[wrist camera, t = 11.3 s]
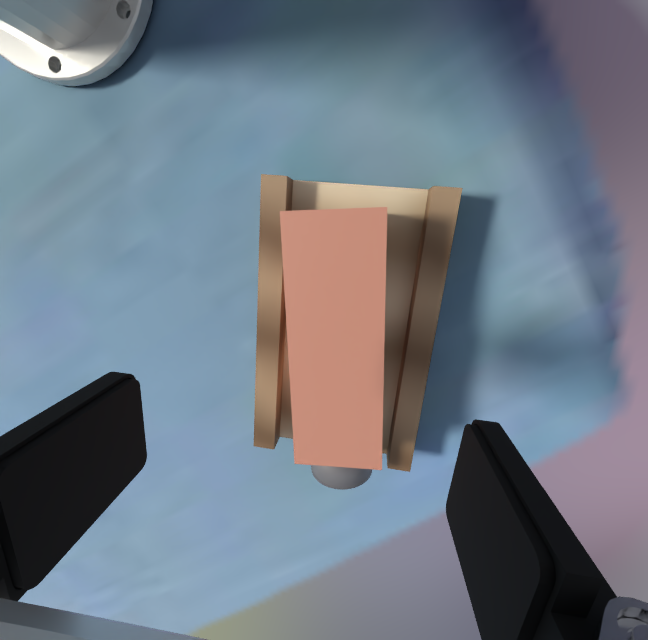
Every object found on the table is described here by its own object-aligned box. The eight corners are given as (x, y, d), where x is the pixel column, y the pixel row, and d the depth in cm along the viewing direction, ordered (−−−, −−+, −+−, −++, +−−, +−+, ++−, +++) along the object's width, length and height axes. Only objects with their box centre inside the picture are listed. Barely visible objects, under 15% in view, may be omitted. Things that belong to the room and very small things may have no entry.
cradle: (273, 181, 21) (261, 174, 18) (451, 193, 20) (462, 188, 17) (264, 426, 26) (253, 445, 23) (406, 448, 24) (409, 471, 22)
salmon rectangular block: (301, 216, 20) (279, 211, 15) (383, 213, 19) (387, 207, 15) (311, 440, 24) (296, 492, 19) (379, 444, 24) (381, 499, 19)
